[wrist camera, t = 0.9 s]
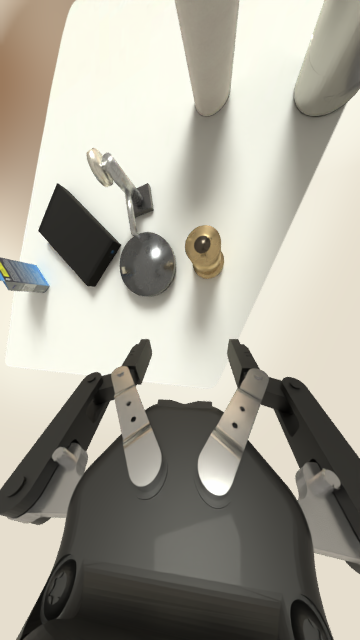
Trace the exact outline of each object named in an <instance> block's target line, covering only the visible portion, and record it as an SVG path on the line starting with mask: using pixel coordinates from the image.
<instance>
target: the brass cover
mask: <svg viewBox="0 0 360 640" xmlns="http://www.w3.org/2000/svg"><path fill="white" fill-rule="evenodd" d="M185 251H186V254H187V256H188V258H189V259H190V260H191V262H192V263H193V268H194V270H195V272H196V273H197V274H198V275H199V276H200V277H202V278H205V279H210V278H213V277H215V276H217V275H218V274H219V273H220V272H221V270H222V268H223V265H224V256H223V254H222V252H221V238H220V235H219V233H218V231H217V230H216V229H215V228H213V227H211V226H207V225H204V226H199V227H197V228H195V229H194V230H193V231H192V232H191V233H190V234H189V235H188V237H187V239H186V243H185Z"/></svg>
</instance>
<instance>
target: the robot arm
mask: <svg viewBox="0 0 360 640" xmlns="http://www.w3.org/2000/svg"><path fill="white" fill-rule="evenodd" d="M359 89H360V0H324V3H323V6H322V9H321V12H320V15H319V17H318V20H317V23H316V26H315V29H314V32H313V35H312V38H311V41H310V44H309V47H308V49H307V52H306V55H305V58H304V62H303V65H302V68H301V70H300V73H299V76H298V79H297V82H296V85H295V91H294V99H295V103H296V106H297V107H298V109H299V110H300V111H301V112H303V113H304V114H306V115H309V116H320V115H325V114H328V113H331V112H333V111H335V110H336V109H338V108H340V107H341V106H343V105H344V104H345V103H347V102H348V101H349V100H350V99H351V98H352V97H353V96H354V95H355V94H356V93H357V91H358V90H359ZM227 355H228V359H229V362H230V366H231V369H232V371H233V375H234V378H235V381H236V384H237V387H238V388H237V390H236V392H235V394H234V396H233V398H232V399H231V401H230V403H229V405H228V407H227V408H226V410H225V412H222V411H221V410H219V409H217V408H215V407H213V406H212V402H205V401H197V402H192V403H188V404H182V403H178V402H176V401H172V400H158V404H155V405H153V406H151V407H149V408H148V409H146V410H144V407H143V405H142V402H141V400H140V397H139V394H138V392H137V389H136V385H137V384H141V383H142V381H143V378H144V375H145V373H146V370H147V367H148V365H149V362H150V359H151V356H152V349H151V345H150V340H149V339H141V341H140V343H139V344H136V345H135V346H134V347H133V348H132V349H131V351H130V353H129V354H128V356H127V358H126V359H125V361H124V363H123V364H122V366H121V367H118V368H116V369H115V370H114V371H113V372H112V374H108V375H104V376H101V374H100V373H98V372H95V373H91V374H89V375H88V376H86V377H85V378H84V379H83V381H82V382H81V383H80V385H79V386H78V387H77V389H76V390H75V391H74V393H73V394H72V395H71V397H70V398H69V399H68V401H67V402H66V403H65V404H64V406H63V407H62V408H61V410H60V411H59V413H58V414H57V415H56V417H55V418H54V419H53V420H52V422H51V423H50V425H49V426H48V427H47V429H46V430H45V431H44V432H43V434H42V435H41V436H40V438H39V439H38V440H37V442H36V443H35V444H34V446H33V447H32V448H31V450H30V451H29V452H28V454H27V455H26V456H25V457H24V459H23V460H22V462H21V463H20V464H19V465H18V467H17V468H16V470H15V471H14V472H13V473H12V475H11V476H10V478H9V479H8V480H7V481H6V483H5V484H4V486H3V487H2V488H1V490H0V515H3V516H6V517H7V518H8V519H11V520H14V521H18V522H22V523H33V524H36V525H40V524H43V523H45V522H46V521H48V520H49V519H50V518H51V517H59V518H66V522H65V528H64V533H63V537H62V541H61V545H60V548H59V551H58V555H57V558H56V561H55V564H54V567H53V569H52V571H51V574H50V576H49V578H48V580H47V582H46V584H45V586H44V588H43V590H42V592H41V594H40V596H39V598H38V600H37V602H36V604H35V606H34V607H33V610H32V611H31V613H30V615H29V617H28V619H27V621H26V622H25V624H24V626H23V628H22V630H21V632H20V634H19V635H18V638H17V639H16V640H334V639H333V637H332V634H331V631H330V628H329V625H328V622H327V619H326V616H325V613H324V609H323V605H322V601H321V597H320V593H319V588H318V583H317V577H316V571H315V563H314V553H317V554H321V555H325V556H329V557H333V558H337V559H341V560H345V561H346V563H347V564H348V565H349V566H350V567H351V568H353V569H354V570H355V571H356V572H358V573H359V574H360V458H359V457H358V456H357V454H356V453H355V452H354V450H353V449H352V448H351V446H350V445H349V444H348V442H347V441H346V440H345V438H344V437H343V435H342V434H341V433H340V431H339V430H338V429H337V427H336V426H335V425H334V423H333V422H332V421H331V419H330V418H329V417H328V415H327V414H326V413H325V411H324V410H323V409H322V407H321V406H320V404H319V403H318V402H317V400H316V399H315V398H314V396H313V395H312V394H311V393H310V391H309V390H308V388H307V387H306V386H305V385H304V384H303V383H302V382H301V381H299V380H297V379H295V378H291V377H286V378H284V379H283V380H282V381H281V380H277V379H274V378H270V377H268V375H267V374H266V373H265V372H264V371H262V370H260V369H259V367H258V365H257V363H256V362H255V360H254V358H253V357H252V354H251V353H250V351H249V349H248V348H247V347H246V346H245V345H244V344H240V342H239V340H238V339H229V343H228V351H227ZM114 399H115V403H116V408H117V413H118V418H119V423H120V427H121V432H122V434H121V435H120V436H119V437H118V438H117V439H116V440H115V441H114V442H113V443H112V444H111V445H110V446H109V447H108V448H107V449H106V450H105V451H104V453H102V454H101V456H100V457H98V458H97V459H96V460H95V461H94V463H93V464H92V465H91V466H90V467H89V468H88V469H87V470H86V471H85V467H86V464H87V460H88V455H87V452H86V451H87V449H88V446H89V444H90V442H91V440H92V438H93V436H94V434H95V431H96V430H97V427H98V425H99V423H100V421H101V419H102V417H103V415H104V413H105V411H106V408H107V406H108V404H109V402H110V401H111V400H114ZM260 404H261V405H264V406H267V407H271V408H273V409H274V411H275V413H276V415H277V418H278V420H279V422H280V424H281V427H282V429H283V431H284V433H285V436H286V438H287V440H288V442H289V445H290V447H291V449H292V452H293V454H294V456H295V458H296V461H297V463H298V465H299V468H300V469H299V471H297V473H296V484H297V487H298V492H299V499H298V500H296V498H295V496H294V495H293V493H292V492H291V490H290V489H289V488H288V486H287V485H286V484H285V483H284V482H283V481H282V479H281V478H280V477H279V476H278V475H277V473H276V472H275V471H274V470H273V469H272V468H271V466H270V465H269V464H268V463H267V462H266V460H265V459H263V457H262V456H261V455H260V453H259V452H258V451H257V450H256V449H255V448H254V446H253V445H252V444H251V443H250V442H249V441H248V438H249V435H250V432H251V429H252V426H253V424H254V421H255V418H256V415H257V413H258V410H259V407H260ZM84 471H85V473H84Z"/></svg>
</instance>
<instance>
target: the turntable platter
mask: <svg viewBox="0 0 360 640" xmlns="http://www.w3.org/2000/svg"><path fill="white" fill-rule="evenodd" d="M139 235H140V236H141V237H140V239H138V238H137V237H136V236H134V237H133V238H132V239H130V240H129V241H128V243H127V244H126V245H125V247H124V249H123V251H122V254H121V258H120V273H121V276H122V279H123V281H124V283H125V285H126V286H127V287H128V288H129V289H130V290H131V291H132V292H133V293H135V294H137V295H141V296H155V295H158V294H160V293H162V292H163V291H164V290H166V289H167V287H168V286H169V285H170V283H171V282H172V280H173V277H174V274H175V269H176V260H175V255H174V252H173V250H172V248H171V247H170V245H169V244H168V243H167V242H166V241H165V239H163V238H162V237H161V236H159V235H157V234H155V233H151V232H144V233H140V234H139Z"/></svg>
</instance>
